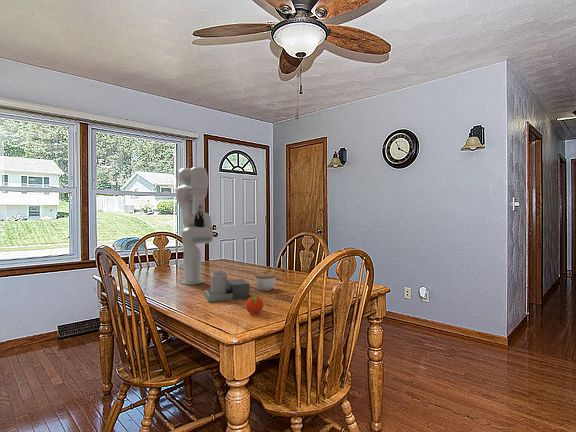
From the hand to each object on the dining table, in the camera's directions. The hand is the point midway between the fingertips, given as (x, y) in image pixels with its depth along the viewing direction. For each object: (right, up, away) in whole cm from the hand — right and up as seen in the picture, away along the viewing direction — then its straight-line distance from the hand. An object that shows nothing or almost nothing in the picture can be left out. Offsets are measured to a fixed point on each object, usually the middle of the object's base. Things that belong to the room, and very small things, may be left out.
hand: (199, 226), depth 180 cm
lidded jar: (+33, -33, +8) cm, 47 cm away
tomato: (+31, -34, -35) cm, 58 cm away
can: (+12, -33, -10) cm, 36 cm away
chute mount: (+15, -33, -8) cm, 38 cm away
